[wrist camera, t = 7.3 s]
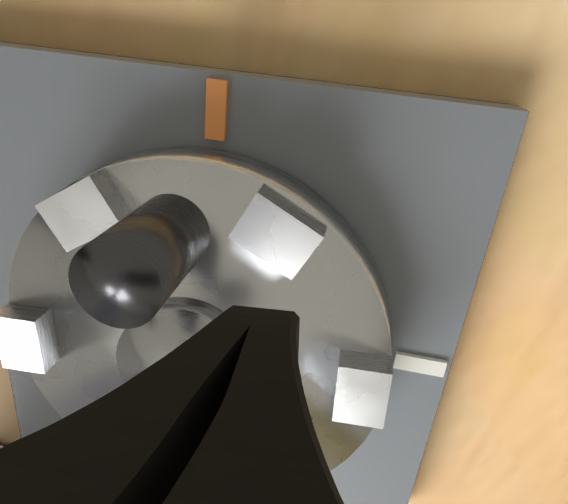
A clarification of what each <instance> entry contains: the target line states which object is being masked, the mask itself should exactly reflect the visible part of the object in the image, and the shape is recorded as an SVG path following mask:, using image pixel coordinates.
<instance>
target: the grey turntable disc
mask: <svg viewBox="0 0 568 504" xmlns="http://www.w3.org/2000/svg"><path fill="white" fill-rule="evenodd" d="M35 208H36V209H37V210H38V213H37V214H36V215H35V217H34V218H33V219H32V221H31V222H30V223H29V225H28V226H27V228H26V230H25V232H24V234H23V236H22V238H21V240H20V242H19V244H18V246H17V249H16V253H15V256H14V259H13V262H12V266H11V273H10V280H9V303H7V304H6V305H4V306H3V307H2V308H0V357H1V361H2V366H3V368H8V369H15V370H21V371H27V372H29V373H30V375H31V376H32V378H33V380H34V382H35V383H36V385H37V387H38V388H39V390H40V391H41V392H42V394H43V395H44V397H45V398H46V399H47V401H48V402H49V404H50V405H51V406H52V407H53V408H54V409H55V411H56V412H57V413H58V414H59V415H60V416H61V417H62V419H63V418H64V417H66V416H68V415H70V414H72V413H74V412H75V411H77V410H79V409H81V408H83V407H85V406H87V405H88V404H90V403H92V402H94V401H96V400H97V399H99V398H101V397H102V396H104V395H106V394H108V393H109V392H111V391H113V390H114V389H116V388H117V387H119V386H121V385H122V384H124V383H125V382H127V381H128V380H130V379H131V378H133V377H134V376H136V375H137V374H139V373H140V372H142V371H143V370H145V369H146V368H148V367H149V366H151V365H152V364H154V363H155V362H157V361H158V360H160V359H161V358H163V357H164V356H166V355H167V354H169V353H170V352H171V351H173V350H174V349H175V348H177V347H178V346H179V345H181V344H182V343H183V342H185V341H186V340H188V339H189V338H190V337H192V336H193V335H194V334H196V333H197V332H198V331H200V330H201V329H202V328H203V327H205V326H206V325H207V324H209V323H210V322H211V321H212V320H214V319H215V318H216V317H218V316H219V315H220V314H222V313H223V312H224V311H225V310H227V309H228V308H230V307H231V306H232V305H237V306H247V307H257V308H267V309H276V310H286V311H294V312H295V313H296V314H297V315H298V316H299V317H300V325H299V355H298V363H299V369H300V374H301V380H302V385H303V389H304V393H305V397H306V401H307V405H308V408H309V412H310V415H311V419H312V422H313V425H314V429H315V432H316V435H317V438H318V441H319V443H320V446H321V449H322V451H323V454H324V457H325V459H326V462H327V465H328V467H329V470H330V471H331V470H333V469H334V468H336V467H337V466H338V465H340V464H341V463H342V462H344V461H345V460H346V459H347V458H349V457H350V456H351V455H352V454H353V453H354V452H355V451H356V450H357V449H358V447H359V446H360V445H361V444H362V443H363V442H364V441H365V440H366V438H367V437H368V435H369V434H370V432H371V431H372V429H373V428H378V429H383V427H384V422H385V416H386V410H387V405H388V399H389V393H390V388H391V382H392V376H393V369H392V352H391V333H390V318H389V307H388V303H387V298H386V294H385V290H384V286H383V283H382V281H381V278H380V275H379V273H378V270H377V268H376V265H375V263H374V261H373V259H372V258H371V256H370V254H369V252H368V250H367V249H366V247H365V245H364V243H363V242H362V240H361V239H360V238H359V236H358V235H357V234H356V232H355V231H354V230H353V228H352V227H351V226H350V224H349V223H348V222H347V221H346V220H345V219H344V218H343V217H342V216H341V215H340V214H339V212H338V211H337V210H336V209H335V208H334V207H333V206H332V205H331V204H330V203H329V202H328V201H326V200H325V199H324V198H323V197H321V196H320V195H319V194H317V193H316V192H315V191H314V190H312V189H311V188H310V187H308V186H307V185H306V184H304V183H303V182H301V181H299V180H297V179H296V178H294V177H292V176H291V175H289V174H287V173H286V172H284V171H282V170H280V169H278V168H276V167H273V166H271V165H269V164H267V163H264V162H262V161H260V160H257V159H254V158H251V157H248V156H244V155H241V154H237V153H234V152H231V151H225V150H218V149H212V148H206V147H169V148H161V149H153V150H148V151H145V152H141V153H137V154H134V155H130V156H127V157H125V158H123V159H120V160H118V161H116V162H114V163H112V164H109V165H107V166H105V167H103V168H101V169H99V170H97V171H95V172H92V173H90V174H88V175H86V176H84V177H82V178H80V179H78V180H76V181H75V182H73V183H72V184H70V185H69V186H67V187H66V188H64V189H62V190H61V191H59V192H58V193H57V194H55V195H53V196H51V197H50V198H48V199H46V200H44V201H42V202H40V203H39V204H37V205H35Z"/></svg>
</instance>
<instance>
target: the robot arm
mask: <svg viewBox="0 0 568 504" xmlns="http://www.w3.org/2000/svg"><path fill="white" fill-rule="evenodd" d="M299 325H300V317H299V316H298V315H297V314H296V313H295V312H294V311H286V310H276V309H267V308H257V307H247V306H237V305H232V306H231V307H230V308H228V309H227V310H225V311H224V312H223V313H222V314H220V315H219V316H218V317H216V318H215V319H214V320H212V321H211V322H210V323H209V324H207V325H206V326H205V327H203V328H202V329H201V330H200V331H198V332H197V333H196V334H194V335H193V336H192V337H190V338H189V339H188V340H186V341H185V342H183V343H182V344H181V345H179V346H178V347H177V348H175V349H174V350H173V351H171V352H170V353H169V354H167V355H166V356H164V357H163V358H161V359H160V360H158V361H157V362H155V363H154V364H152V365H151V366H149V367H148V368H146V369H145V370H143V371H142V372H140V373H139V374H137V375H136V376H134V377H133V378H131V379H130V380H128V381H127V382H125V383H124V384H122V385H121V386H119V387H117V388H116V389H114V390H113V391H111V392H109V393H108V394H106V395H104V396H102V397H101V398H99V399H97V400H96V401H94V402H92V403H90V404H88V405H87V406H85V407H83V408H81V409H79V410H77V411H75V412H74V413H72V414H70V415H68V416H66V417H64V418H63V419H61V420H59V421H57V422H55V423H53V424H51V425H49V426H47V427H45V428H43V429H40V430H38V431H36V432H34V433H32V434H30V435H28V436H25V437H23V438H21V439H19V440H17V441H15V442H13V443H10V444H8V445H6V446H1V445H0V504H344V502H343V500H342V498H341V496H340V494H339V491H338V489H337V487H336V484H335V482H334V479H333V477H332V475H331V472H330V470H329V467H328V465H327V462H326V459H325V457H324V454H323V451H322V449H321V446H320V443H319V441H318V438H317V435H316V432H315V429H314V425H313V422H312V419H311V415H310V412H309V408H308V405H307V401H306V397H305V393H304V389H303V385H302V380H301V374H300V369H299V363H298V355H299Z"/></svg>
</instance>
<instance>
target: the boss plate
mask: <svg viewBox="0 0 568 504" xmlns="http://www.w3.org/2000/svg"><path fill="white" fill-rule="evenodd" d="M528 114H529V111H527V110H525V109H523V108H521V107H519V106H517V105H509V104H501V103H493V102H485V101H477V100H469V99H461V98H453V97H445V96H436V95H428V94H420V93H412V92H404V91H396V90H388V89H380V88H372V87H364V86H355V85H347V84H339V83H331V82H323V81H315V80H307V79H299V78H291V77H282V76H274V75H266V74H258V73H250V72H242V71H234V70H226V69H218V68H210V67H201V66H193V65H185V64H177V63H169V62H161V61H153V60H145V59H137V58H128V57H120V56H112V55H104V54H96V53H88V52H80V51H72V50H64V49H55V48H47V47H39V46H31V45H23V44H15V43H7V42H0V308H2V307H3V306H4V305H6V304H7V303H9V280H10V273H11V266H12V262H13V259H14V256H15V253H16V249H17V246H18V244H19V242H20V240H21V238H22V236H23V234H24V232H25V230H26V228H27V226H28V225H29V223H30V222H31V221H32V219H33V218H34V217H35V215H36V214H37V213H38V210H37V209H36V208H35V205H37V204H39V203H40V202H42V201H44V200H46V199H48V198H50V197H51V196H53V195H55V194H57V193H58V192H59V191H61V190H62V189H64V188H66V187H67V186H69V185H70V184H72V183H73V182H75V181H76V180H78V179H80V178H82V177H84V176H86V175H88V174H90V173H92V172H95V171H97V170H99V169H101V168H103V167H105V166H107V165H109V164H112V163H114V162H116V161H118V160H120V159H123V158H125V157H127V156H130V155H134V154H137V153H141V152H145V151H148V150H153V149H161V148H169V147H206V148H212V149H218V150H225V151H231V152H234V153H237V154H241V155H244V156H248V157H251V158H254V159H257V160H260V161H262V162H264V163H267V164H269V165H271V166H273V167H276V168H278V169H280V170H282V171H284V172H286V173H287V174H289V175H291V176H292V177H294V178H296V179H297V180H299V181H301V182H303V183H304V184H306V185H307V186H308V187H310V188H311V189H312V190H314V191H315V192H316V193H317V194H319V195H320V196H321V197H323V198H324V199H325V200H326V201H328V202H329V203H330V204H331V205H332V206H333V207H334V208H335V209H336V210H337V211H338V212H339V214H340V215H341V216H342V217H343V218H344V219H345V220H346V221H347V222H348V223H349V224H350V226H351V227H352V228H353V230H354V231H355V232H356V234H357V235H358V236H359V238H360V239H361V240H362V242H363V243H364V245H365V247H366V249H367V250H368V252H369V254H370V256H371V258H372V259H373V261H374V263H375V265H376V268H377V270H378V273H379V275H380V278H381V281H382V283H383V286H384V290H385V294H386V298H387V303H388V307H389V318H390V333H391V352H392V369H393V376H392V382H391V388H390V393H389V399H388V405H387V410H386V416H385V422H384V427H383V429H378V428H373V429H372V431H371V432H370V434H369V435H368V437H367V438H366V440H365V441H364V442H363V443H362V444H361V445H360V446H359V447H358V449H357V450H356V451H355V452H354V453H353V454H352V455H351V456H350V457H349V458H347V459H346V460H345V461H344V462H342V463H341V464H340V465H338V466H337V467H336V468H334V469H333V470H331V471H330V472H331V475H332V477H333V479H334V482H335V484H336V487H337V489H338V491H339V494H340V496H341V498H342V500H343V502H344V504H408V502H409V499H410V495H411V492H412V489H413V486H414V482H415V479H416V476H417V473H418V470H419V466H420V463H421V460H422V457H423V453H424V450H425V447H426V444H427V440H428V437H429V434H430V431H431V428H432V424H433V421H434V418H435V415H436V411H437V408H438V405H439V402H440V398H441V395H442V392H443V389H444V386H445V382H446V379H447V376H448V373H449V369H450V366H451V363H452V360H453V356H454V353H455V350H456V347H457V344H458V340H459V337H460V334H461V331H462V327H463V324H464V321H465V318H466V314H467V311H468V308H469V305H470V302H471V298H472V295H473V292H474V289H475V285H476V282H477V279H478V276H479V272H480V269H481V266H482V263H483V260H484V256H485V253H486V250H487V247H488V243H489V240H490V237H491V234H492V230H493V227H494V224H495V221H496V218H497V214H498V211H499V208H500V205H501V201H502V198H503V195H504V192H505V188H506V185H507V182H508V179H509V176H510V172H511V169H512V166H513V163H514V159H515V156H516V153H517V150H518V146H519V143H520V140H521V137H522V134H523V130H524V127H525V124H526V121H527V117H528ZM9 374H10V380H11V386H12V391H13V397H14V402H15V408H16V413H17V419H18V424H19V430H20V436H21V438H23V437H25V436H28V435H30V434H32V433H34V432H36V431H38V430H40V429H43V428H45V427H47V426H49V425H51V424H53V423H55V422H57V421H59V420H61V419H62V417H61V416H60V415H59V414H58V413H57V412H56V411H55V409H54V408H53V407H52V406H51V405H50V404H49V402H48V401H47V399H46V398H45V397H44V395H43V394H42V392H41V391H40V390H39V388H38V387H37V385H36V383H35V382H34V380H33V378H32V376H31V375H30V373H29V372H27V371H21V370H15V369H9Z"/></svg>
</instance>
